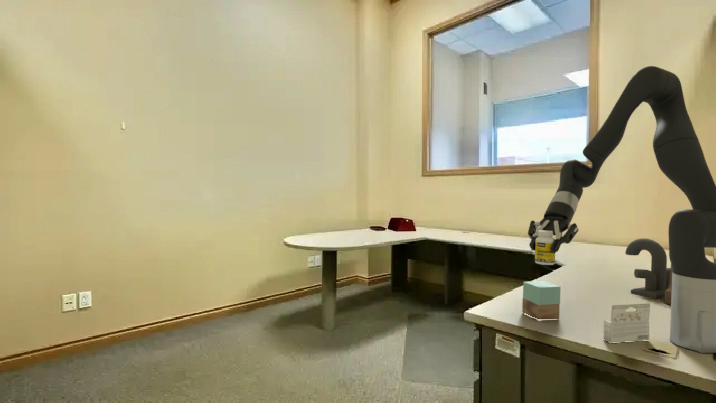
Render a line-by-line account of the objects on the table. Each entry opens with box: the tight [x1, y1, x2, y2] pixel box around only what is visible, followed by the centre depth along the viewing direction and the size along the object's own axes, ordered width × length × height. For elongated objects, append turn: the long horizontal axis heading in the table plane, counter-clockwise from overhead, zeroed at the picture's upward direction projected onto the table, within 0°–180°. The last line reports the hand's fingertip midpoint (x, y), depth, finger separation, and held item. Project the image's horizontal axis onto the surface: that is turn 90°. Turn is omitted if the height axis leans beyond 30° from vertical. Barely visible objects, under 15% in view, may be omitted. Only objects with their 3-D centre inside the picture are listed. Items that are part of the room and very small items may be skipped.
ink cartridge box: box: [603, 303, 651, 342], centre depth 92 cm, size 2×11×10 cm, turn 99°
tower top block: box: [522, 280, 561, 305], centre depth 109 cm, size 7×7×5 cm
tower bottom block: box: [521, 297, 561, 320], centre depth 109 cm, size 7×7×5 cm
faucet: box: [624, 237, 671, 300], centre depth 139 cm, size 18×16×20 cm
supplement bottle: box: [534, 230, 556, 266], centre depth 110 cm, size 5×5×10 cm
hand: (542, 249), depth 109 cm, fingers closed on supplement bottle, 5 cm apart
